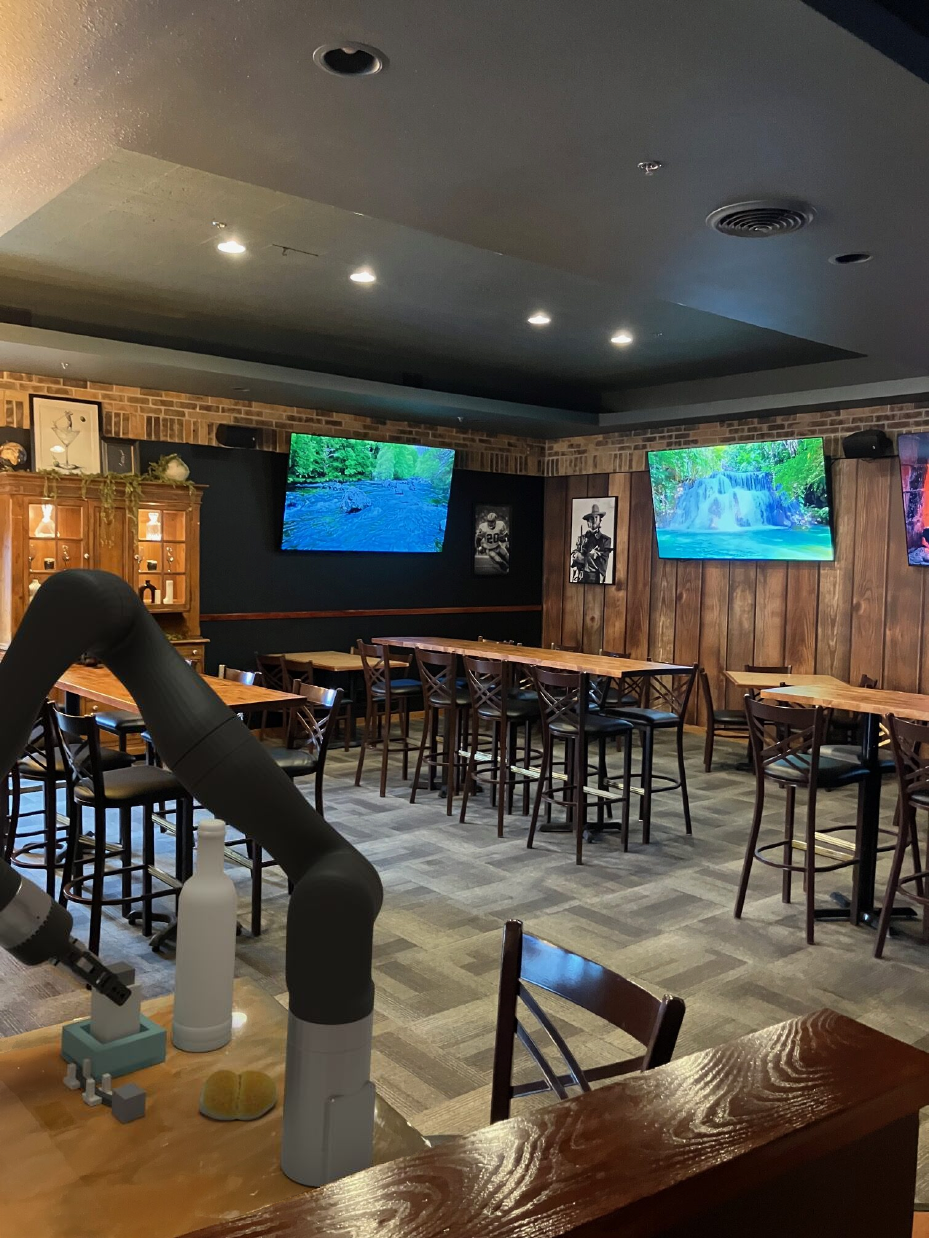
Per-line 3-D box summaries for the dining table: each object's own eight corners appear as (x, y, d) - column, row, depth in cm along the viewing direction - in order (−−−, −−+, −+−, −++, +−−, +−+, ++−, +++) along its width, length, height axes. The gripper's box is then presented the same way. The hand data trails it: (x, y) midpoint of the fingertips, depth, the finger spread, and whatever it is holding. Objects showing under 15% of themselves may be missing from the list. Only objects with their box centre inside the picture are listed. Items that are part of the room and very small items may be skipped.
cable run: (144, 1115, 114) (145, 1091, 114) (114, 1126, 112) (115, 1102, 112) (89, 1070, 124) (90, 1048, 124) (60, 1079, 121) (61, 1057, 121)
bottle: (222, 1054, 130) (233, 830, 129) (163, 1051, 130) (174, 826, 129) (237, 1028, 138) (247, 816, 137) (181, 1024, 138) (191, 813, 137)
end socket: (165, 1060, 127) (166, 1030, 127) (95, 1084, 121) (96, 1052, 120) (129, 1034, 134) (130, 1006, 134) (61, 1056, 127) (62, 1025, 127)
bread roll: (275, 1122, 115) (276, 1088, 115) (196, 1125, 113) (198, 1091, 113) (276, 1086, 123) (278, 1055, 123) (203, 1088, 121) (204, 1056, 121)
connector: (138, 1052, 127) (142, 968, 127) (105, 1063, 124) (109, 977, 124) (121, 1040, 130) (125, 958, 130) (89, 1050, 127) (92, 966, 127)
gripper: (72, 907, 115) (157, 980, 123) (22, 878, 125) (104, 947, 133) (24, 963, 111) (115, 1033, 120) (-24, 928, 121) (64, 996, 129)
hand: (109, 988), depth 126 cm, fingers open, 8 cm apart
